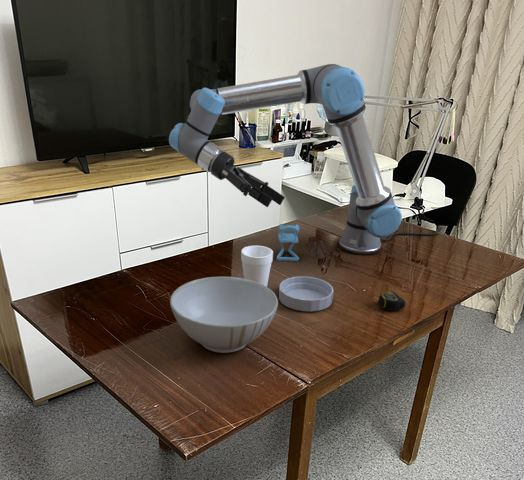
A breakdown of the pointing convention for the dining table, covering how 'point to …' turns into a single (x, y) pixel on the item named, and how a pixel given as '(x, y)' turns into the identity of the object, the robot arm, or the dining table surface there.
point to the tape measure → (391, 301)
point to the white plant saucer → (305, 293)
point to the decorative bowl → (224, 311)
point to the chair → (288, 238)
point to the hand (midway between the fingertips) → (276, 202)
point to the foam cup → (257, 263)
